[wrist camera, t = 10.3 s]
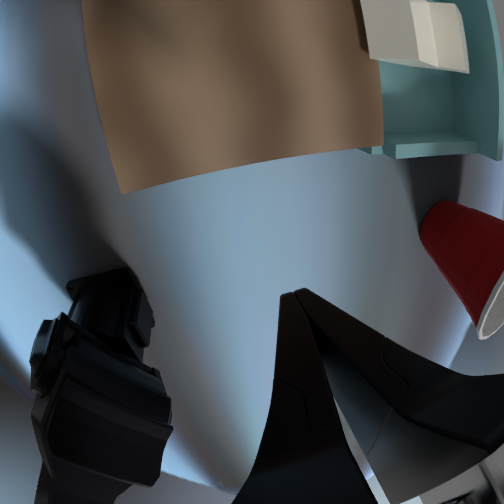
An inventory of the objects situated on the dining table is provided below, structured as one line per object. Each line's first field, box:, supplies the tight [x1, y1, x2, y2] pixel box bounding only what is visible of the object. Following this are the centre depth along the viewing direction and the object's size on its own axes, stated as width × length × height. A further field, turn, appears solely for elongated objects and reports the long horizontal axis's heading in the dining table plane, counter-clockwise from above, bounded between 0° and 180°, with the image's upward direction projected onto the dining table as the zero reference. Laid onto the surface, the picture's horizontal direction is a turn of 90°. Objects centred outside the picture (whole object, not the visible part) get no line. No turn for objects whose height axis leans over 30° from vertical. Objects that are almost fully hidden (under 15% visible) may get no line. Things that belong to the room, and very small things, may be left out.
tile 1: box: [406, 2, 469, 74], centre depth 13 cm, size 5×5×3 cm
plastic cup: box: [420, 201, 504, 339], centre depth 21 cm, size 11×11×12 cm
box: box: [357, 0, 504, 161], centre depth 13 cm, size 12×18×6 cm, turn 8°
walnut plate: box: [81, 0, 384, 195], centre depth 13 cm, size 16×16×4 cm
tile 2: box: [360, 0, 438, 68], centre depth 11 cm, size 5×5×3 cm
